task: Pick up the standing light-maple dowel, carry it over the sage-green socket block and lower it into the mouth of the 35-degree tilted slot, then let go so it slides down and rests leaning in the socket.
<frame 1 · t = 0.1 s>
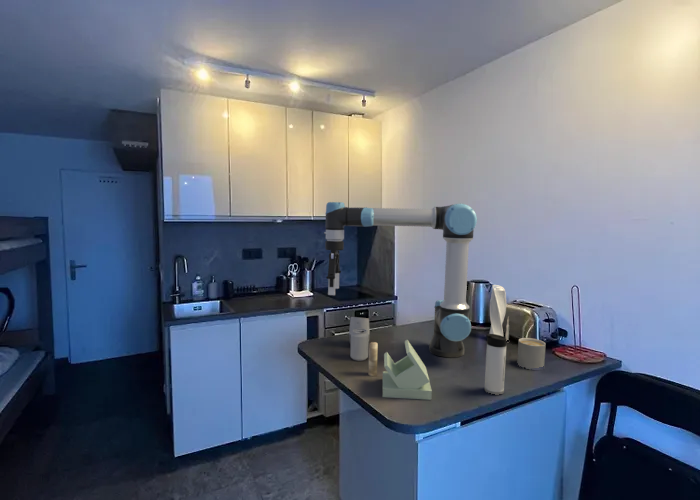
hand: (333, 291, 163), 28 cm above the worktop, tool pointing down, fingers open, 13 cm apart
socket: (415, 389, 137), on the worktop
can: (359, 358, 165), on the worktop
smart speaker: (359, 345, 181), on the worktop
travel mug: (493, 391, 137), on the worktop
skyscraper: (496, 341, 192), on the worktop
coffee mug: (532, 365, 162), on the worktop
dowel: (372, 374, 149), on the worktop
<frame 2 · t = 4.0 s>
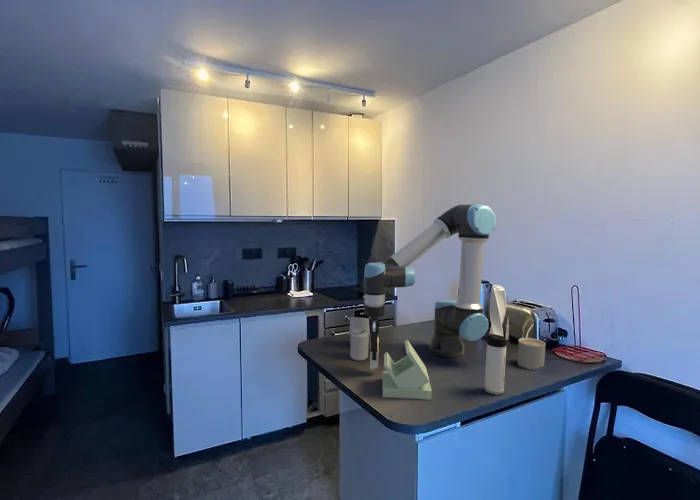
hand: (374, 365, 149), 3 cm above the worktop, tool pointing down, fingers closed on dowel, 3 cm apart
dowel: (374, 368, 149), point 2 cm above the worktop, touching gripper
everything else where it was.
when the fingers open (11 cm above the worktop, at t = 7.6 s): dowel drops 3 cm and tips over, resting on socket.
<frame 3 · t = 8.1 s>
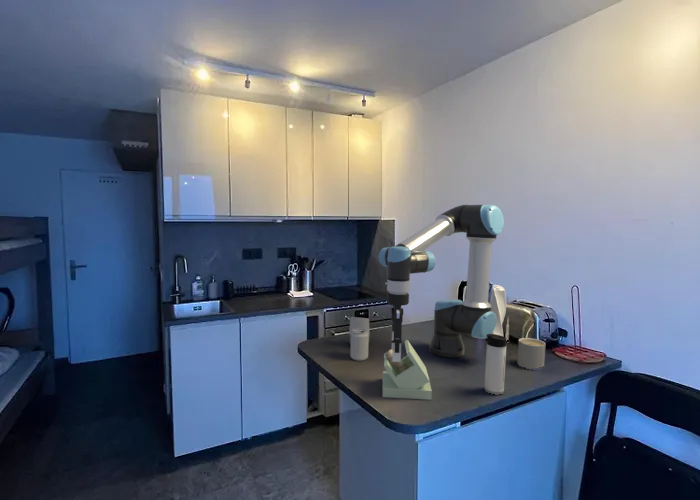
hand: (395, 355, 136), 12 cm above the worktop, tool pointing down, fingers open, 10 cm apart
dowel: (412, 377, 137), point 4 cm above the worktop, tilted 45°, touching socket
everything else where it was.
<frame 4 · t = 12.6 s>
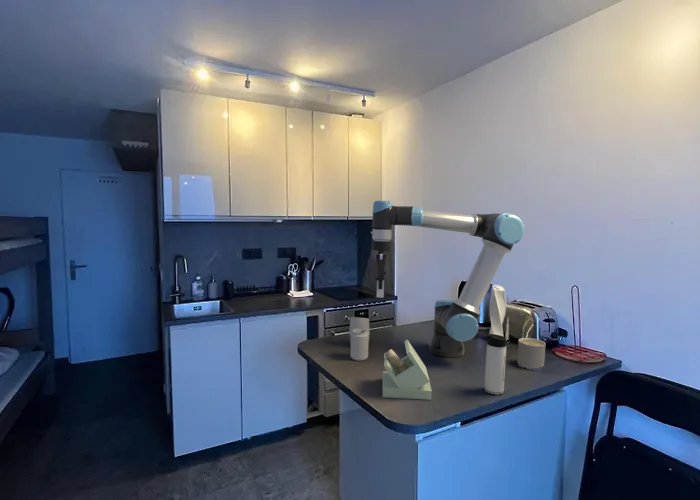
hand: (380, 293, 157), 29 cm above the worktop, tool pointing down, fingers open, 13 cm apart
nothing on the worktop moved.
at the end: dowel inside the target area on the socket (4.5 cm from its centre), point 4.1 cm above the socket's base; dowel tilted 45°; the gripper is holding nothing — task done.
